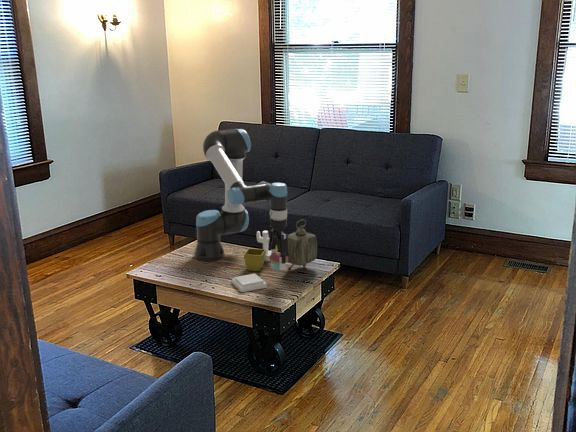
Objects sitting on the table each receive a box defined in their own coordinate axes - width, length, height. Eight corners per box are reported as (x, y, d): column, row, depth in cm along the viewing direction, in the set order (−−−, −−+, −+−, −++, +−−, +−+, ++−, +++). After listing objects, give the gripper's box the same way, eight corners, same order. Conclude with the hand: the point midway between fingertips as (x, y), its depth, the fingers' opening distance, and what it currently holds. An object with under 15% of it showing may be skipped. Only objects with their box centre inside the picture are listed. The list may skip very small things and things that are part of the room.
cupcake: (281, 272, 267) (281, 247, 263) (265, 269, 271) (265, 244, 267) (291, 266, 274) (291, 241, 271) (275, 263, 278) (275, 238, 275)
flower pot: (261, 273, 286) (261, 255, 284) (243, 272, 288) (243, 254, 285) (266, 266, 295) (265, 249, 292) (248, 265, 296) (248, 248, 294)
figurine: (271, 263, 299) (270, 234, 295) (254, 260, 303) (253, 232, 298) (277, 258, 305) (277, 230, 301) (260, 256, 309) (260, 228, 305)
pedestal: (232, 282, 275) (231, 276, 274) (256, 278, 280) (256, 272, 279) (241, 292, 265) (241, 285, 264) (266, 287, 270) (266, 281, 269)
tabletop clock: (304, 263, 299) (304, 214, 292) (318, 267, 293) (319, 218, 286) (284, 271, 289) (284, 221, 282) (298, 275, 283) (298, 224, 276)
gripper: (261, 212, 273) (261, 259, 280) (280, 226, 255) (280, 275, 262) (276, 210, 276) (276, 257, 283) (296, 223, 258) (296, 272, 265)
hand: (278, 265), depth 272 cm, fingers closed on cupcake, 8 cm apart
